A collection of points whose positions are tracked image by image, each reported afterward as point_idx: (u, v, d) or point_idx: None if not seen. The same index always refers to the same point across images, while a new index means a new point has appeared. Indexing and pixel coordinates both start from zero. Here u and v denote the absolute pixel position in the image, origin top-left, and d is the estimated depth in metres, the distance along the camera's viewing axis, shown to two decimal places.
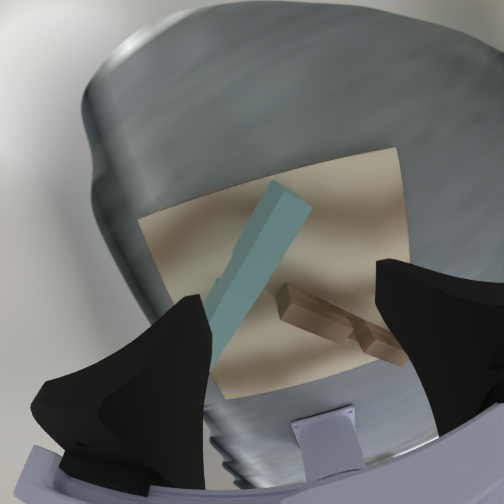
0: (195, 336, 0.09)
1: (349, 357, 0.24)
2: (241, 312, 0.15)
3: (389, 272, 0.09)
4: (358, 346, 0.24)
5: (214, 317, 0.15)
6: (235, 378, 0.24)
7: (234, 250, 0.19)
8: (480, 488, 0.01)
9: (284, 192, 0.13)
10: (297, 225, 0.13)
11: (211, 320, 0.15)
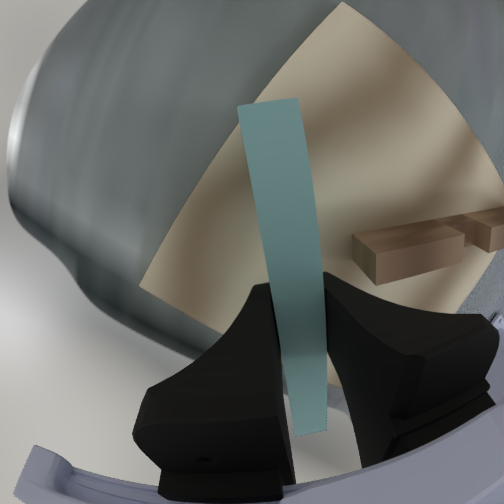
0: (275, 324, 0.09)
1: (472, 267, 0.15)
2: (316, 320, 0.09)
3: None
4: (474, 248, 0.14)
5: (285, 350, 0.09)
6: None
7: None
8: (480, 488, 0.01)
9: (238, 108, 0.06)
10: (297, 139, 0.07)
11: (284, 356, 0.09)
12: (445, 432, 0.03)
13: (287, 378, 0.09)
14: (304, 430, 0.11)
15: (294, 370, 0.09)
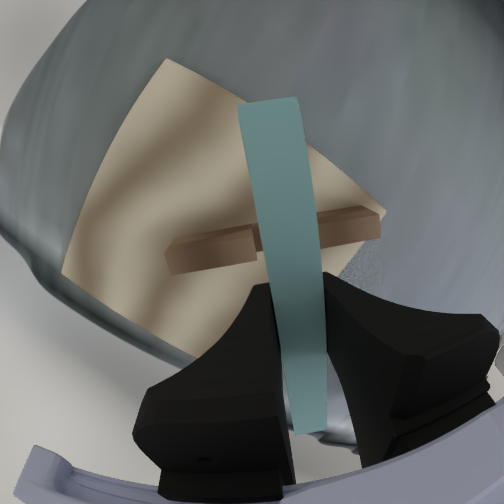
0: (275, 324, 0.09)
1: None
2: (316, 319, 0.09)
3: None
4: None
5: (285, 348, 0.09)
6: None
7: None
8: (480, 488, 0.01)
9: (238, 107, 0.06)
10: (297, 137, 0.07)
11: (284, 354, 0.09)
12: (445, 432, 0.03)
13: (287, 376, 0.09)
14: (304, 429, 0.11)
15: (294, 369, 0.09)
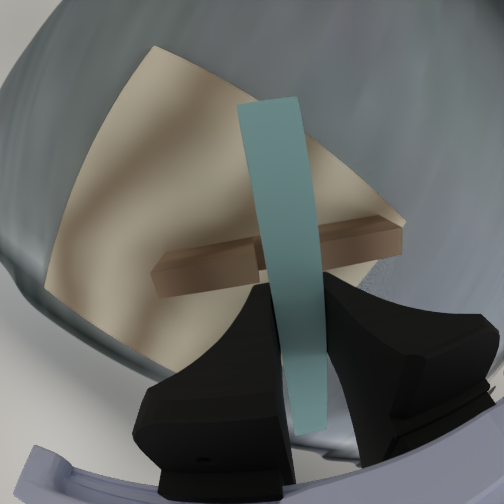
0: (275, 324, 0.09)
1: None
2: (316, 319, 0.09)
3: None
4: None
5: (285, 348, 0.09)
6: None
7: None
8: (480, 488, 0.01)
9: (238, 106, 0.06)
10: (297, 137, 0.07)
11: (283, 354, 0.09)
12: (445, 432, 0.03)
13: (287, 377, 0.09)
14: (304, 429, 0.11)
15: (294, 369, 0.09)
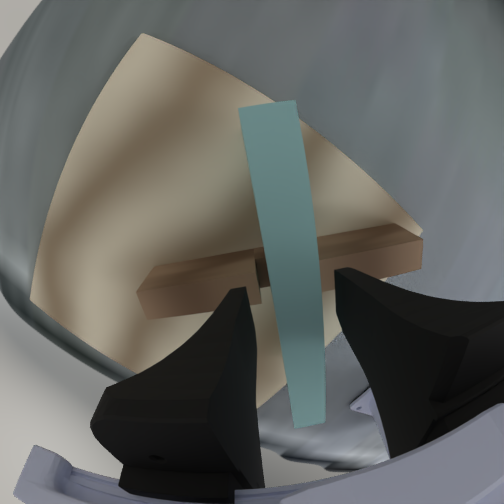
0: (247, 329, 0.09)
1: None
2: (314, 311, 0.09)
3: (344, 282, 0.09)
4: None
5: (284, 340, 0.09)
6: None
7: None
8: (480, 488, 0.01)
9: (240, 110, 0.07)
10: (295, 138, 0.07)
11: (283, 346, 0.09)
12: (478, 412, 0.03)
13: (286, 368, 0.10)
14: (303, 422, 0.11)
15: (293, 361, 0.10)
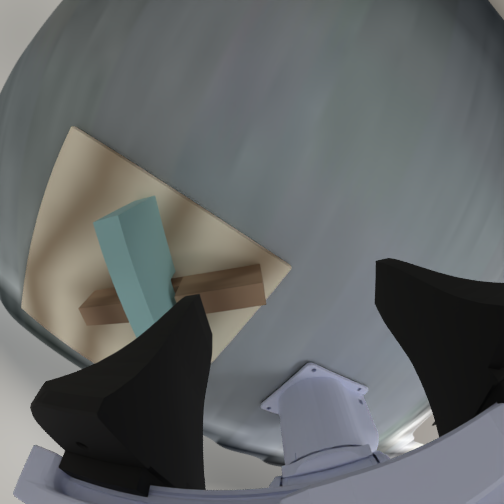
0: (195, 336, 0.09)
1: (220, 320, 0.21)
2: None
3: (389, 272, 0.09)
4: None
5: None
6: None
7: None
8: (480, 488, 0.01)
9: (94, 223, 0.12)
10: (120, 238, 0.12)
11: None
12: None
13: None
14: None
15: None
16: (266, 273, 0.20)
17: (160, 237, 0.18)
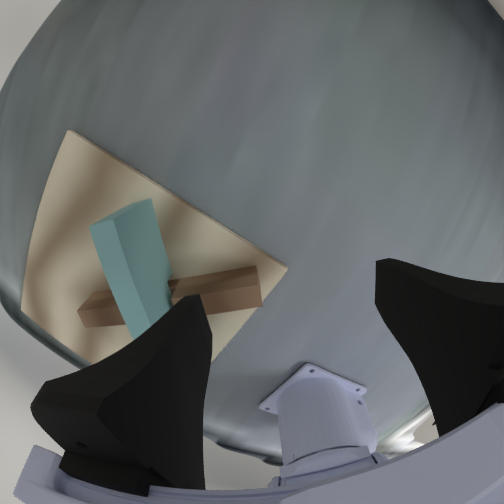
0: (195, 336, 0.09)
1: (217, 321, 0.21)
2: None
3: (389, 272, 0.09)
4: None
5: None
6: None
7: None
8: (480, 488, 0.01)
9: (90, 227, 0.12)
10: (116, 241, 0.12)
11: None
12: None
13: None
14: None
15: None
16: (263, 275, 0.20)
17: (156, 239, 0.18)
